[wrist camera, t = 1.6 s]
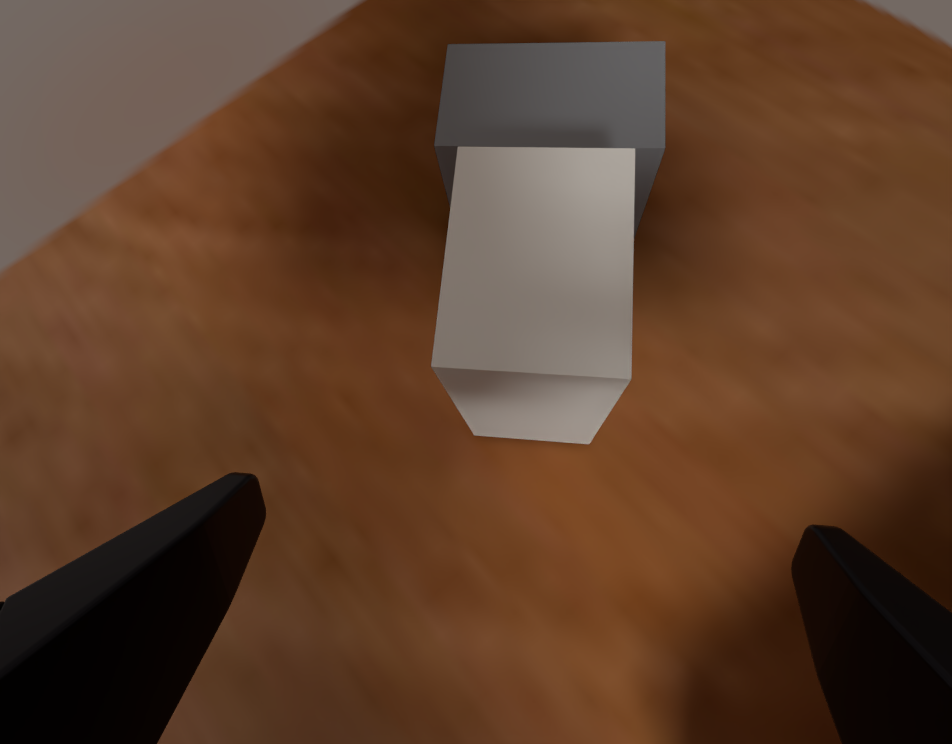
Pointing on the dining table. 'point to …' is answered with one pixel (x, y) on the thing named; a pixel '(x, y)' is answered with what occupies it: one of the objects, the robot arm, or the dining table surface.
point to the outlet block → (555, 102)
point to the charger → (537, 290)
